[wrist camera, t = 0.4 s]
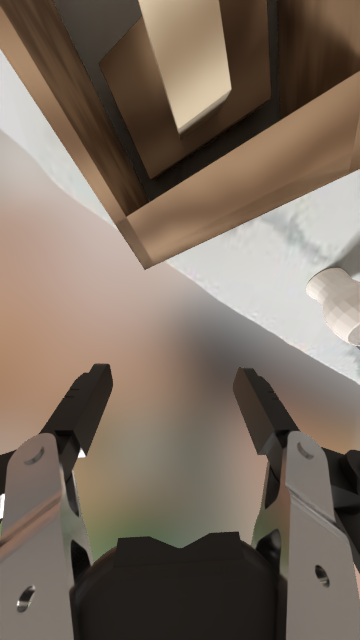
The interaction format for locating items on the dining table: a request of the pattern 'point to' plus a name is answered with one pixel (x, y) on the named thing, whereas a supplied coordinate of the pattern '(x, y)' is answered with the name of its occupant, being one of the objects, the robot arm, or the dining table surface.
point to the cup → (338, 302)
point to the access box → (162, 136)
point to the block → (189, 58)
